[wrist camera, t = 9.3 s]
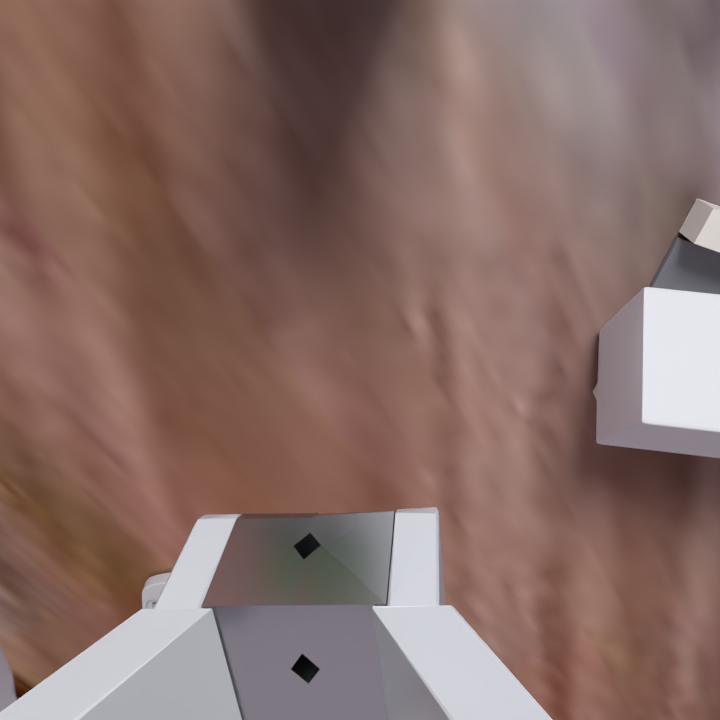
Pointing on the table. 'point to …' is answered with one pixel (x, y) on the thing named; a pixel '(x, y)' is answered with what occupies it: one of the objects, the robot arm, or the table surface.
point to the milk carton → (661, 374)
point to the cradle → (693, 255)
